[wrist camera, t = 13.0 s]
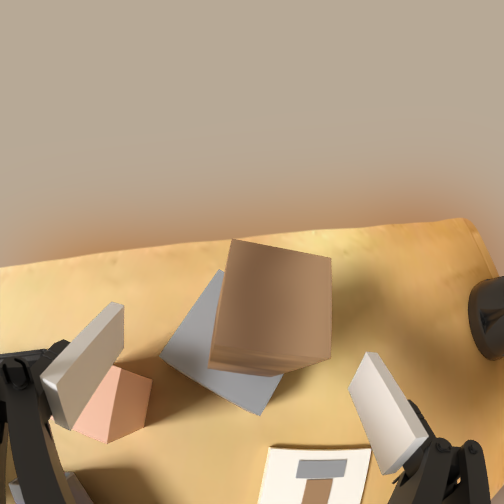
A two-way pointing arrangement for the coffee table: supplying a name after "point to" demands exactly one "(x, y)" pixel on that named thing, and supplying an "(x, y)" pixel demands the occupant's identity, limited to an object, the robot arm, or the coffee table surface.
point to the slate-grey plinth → (197, 355)
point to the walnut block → (272, 311)
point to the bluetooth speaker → (75, 486)
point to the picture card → (314, 476)
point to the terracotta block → (115, 406)
